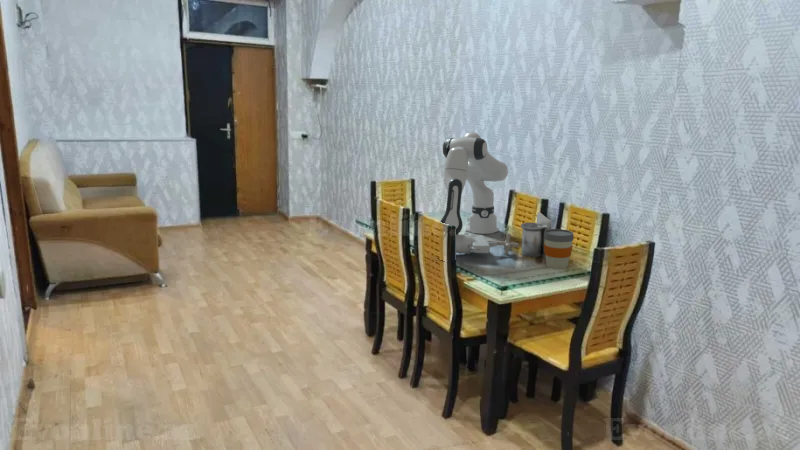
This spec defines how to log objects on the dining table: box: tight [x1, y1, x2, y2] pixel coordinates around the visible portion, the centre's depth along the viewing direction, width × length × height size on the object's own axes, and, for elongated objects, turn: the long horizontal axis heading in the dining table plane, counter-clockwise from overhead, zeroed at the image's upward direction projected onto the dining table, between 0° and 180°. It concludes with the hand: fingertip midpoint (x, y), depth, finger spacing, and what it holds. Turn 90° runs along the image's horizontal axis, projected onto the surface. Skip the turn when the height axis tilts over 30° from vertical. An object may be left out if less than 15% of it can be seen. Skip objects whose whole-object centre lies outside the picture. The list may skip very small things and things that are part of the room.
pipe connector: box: [496, 232, 519, 256], centre depth 261 cm, size 10×10×10 cm
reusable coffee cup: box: [544, 228, 575, 270], centre depth 242 cm, size 13×13×15 cm
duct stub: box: [520, 211, 552, 260], centre depth 260 cm, size 20×11×18 cm, turn 1°
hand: (496, 243), depth 260 cm, fingers closed, pressing on pipe connector
